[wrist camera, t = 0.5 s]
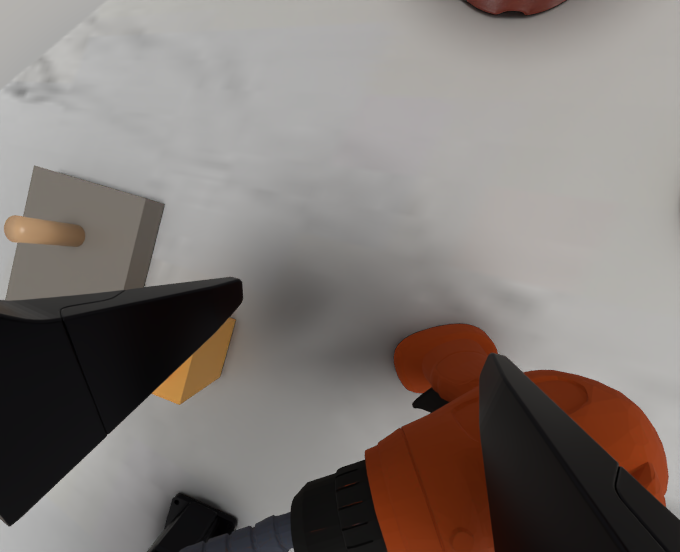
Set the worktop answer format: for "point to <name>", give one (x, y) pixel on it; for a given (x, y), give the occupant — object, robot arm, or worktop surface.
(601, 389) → the toy drill
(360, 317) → the worktop surface
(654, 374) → the worktop surface
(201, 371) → the orange knobbed cube
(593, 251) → the worktop surface
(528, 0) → the flower pot
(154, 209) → the grey peg board
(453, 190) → the worktop surface
